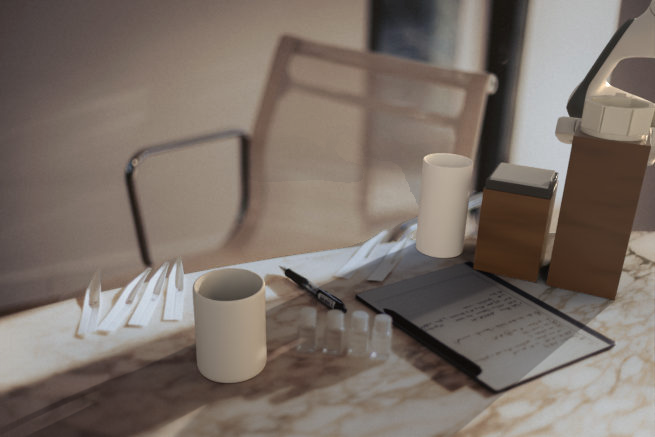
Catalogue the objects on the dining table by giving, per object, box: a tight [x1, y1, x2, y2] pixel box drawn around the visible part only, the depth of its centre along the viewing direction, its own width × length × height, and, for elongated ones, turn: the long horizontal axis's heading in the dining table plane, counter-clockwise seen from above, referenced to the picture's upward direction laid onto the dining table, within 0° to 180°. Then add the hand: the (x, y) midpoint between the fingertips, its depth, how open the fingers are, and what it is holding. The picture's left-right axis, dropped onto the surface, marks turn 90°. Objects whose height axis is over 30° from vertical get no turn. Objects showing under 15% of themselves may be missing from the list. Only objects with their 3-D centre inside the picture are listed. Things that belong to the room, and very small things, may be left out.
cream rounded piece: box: [580, 93, 655, 141], centre depth 95 cm, size 22×9×4 cm, turn 155°
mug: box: [192, 267, 268, 384], centre depth 76 cm, size 12×8×11 cm
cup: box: [415, 152, 474, 259], centre depth 106 cm, size 8×8×16 cm
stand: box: [472, 121, 651, 301], centre depth 97 cm, size 10×22×24 cm, turn 65°
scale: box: [484, 161, 559, 199], centre depth 98 cm, size 10×10×2 cm
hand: (613, 123), depth 113 cm, fingers open, 8 cm apart
